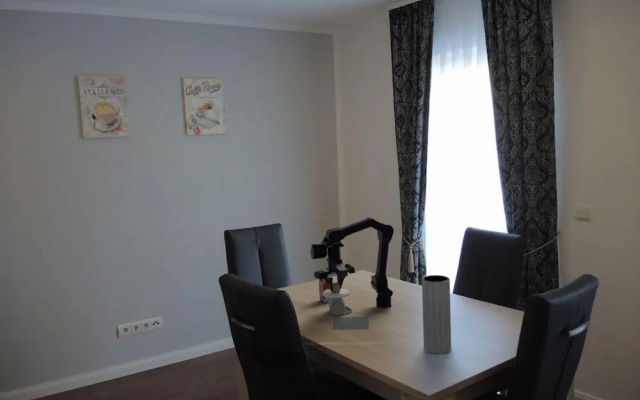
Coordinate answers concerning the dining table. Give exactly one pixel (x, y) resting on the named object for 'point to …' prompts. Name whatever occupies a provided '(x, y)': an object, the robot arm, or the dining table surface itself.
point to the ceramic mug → (338, 306)
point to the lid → (336, 292)
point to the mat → (350, 323)
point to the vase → (436, 314)
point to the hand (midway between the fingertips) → (335, 290)
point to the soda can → (323, 287)
